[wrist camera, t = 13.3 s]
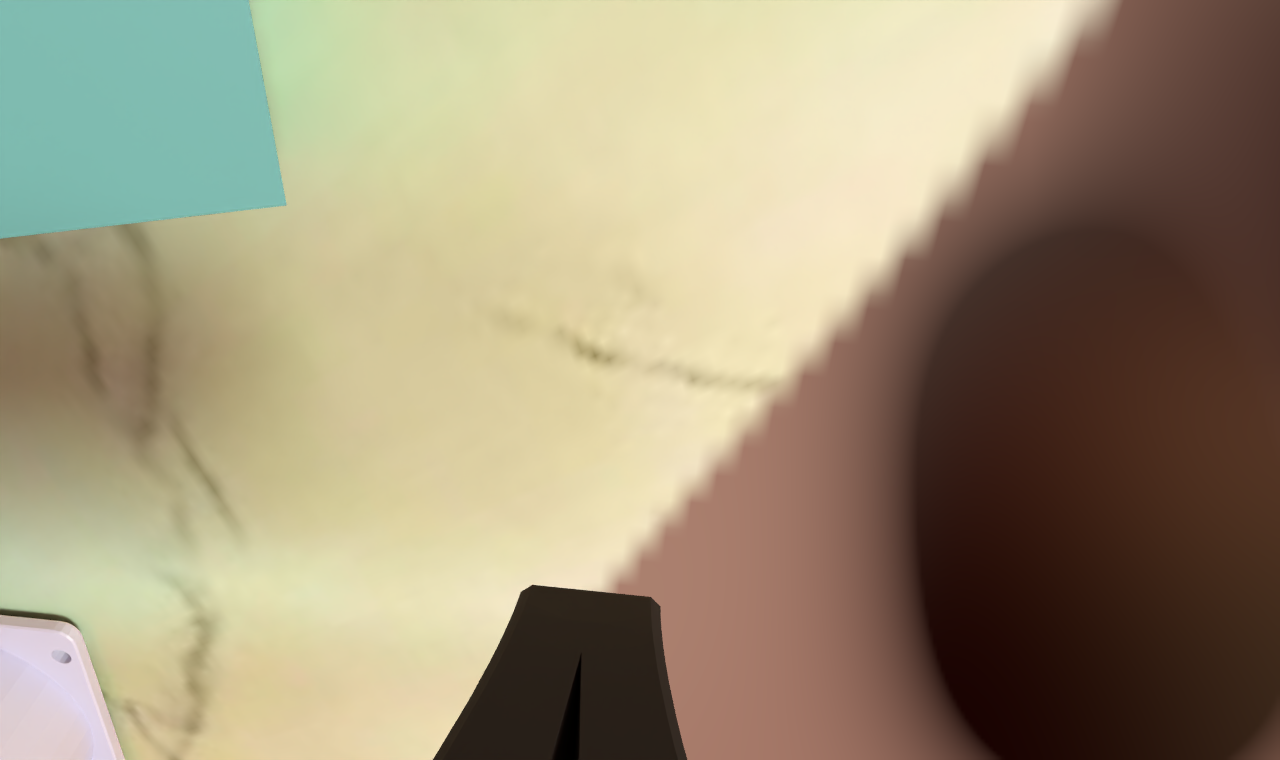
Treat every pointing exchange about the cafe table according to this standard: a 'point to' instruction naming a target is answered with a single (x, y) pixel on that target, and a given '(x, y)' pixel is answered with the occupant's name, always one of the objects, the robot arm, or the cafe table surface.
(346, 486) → the cafe table surface
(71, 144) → the domino
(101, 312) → the cafe table surface
